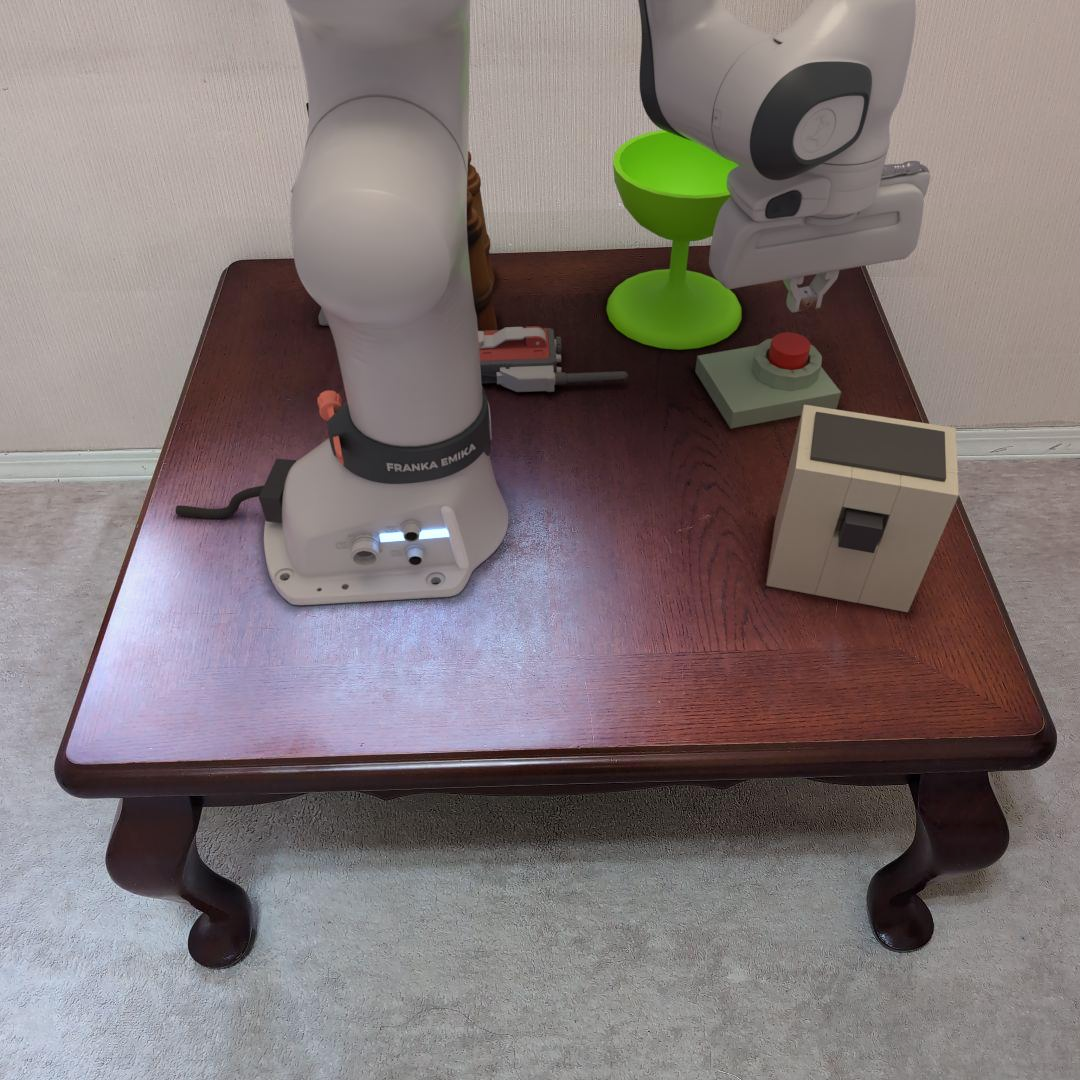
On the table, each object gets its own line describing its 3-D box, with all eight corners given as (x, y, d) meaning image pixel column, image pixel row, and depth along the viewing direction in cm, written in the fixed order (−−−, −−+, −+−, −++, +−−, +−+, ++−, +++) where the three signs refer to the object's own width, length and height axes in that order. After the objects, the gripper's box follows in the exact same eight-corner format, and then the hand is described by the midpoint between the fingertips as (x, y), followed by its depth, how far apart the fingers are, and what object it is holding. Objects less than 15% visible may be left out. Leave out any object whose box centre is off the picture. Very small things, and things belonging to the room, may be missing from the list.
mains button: (777, 374, 98) (781, 357, 96) (761, 351, 100) (765, 335, 99) (813, 367, 99) (817, 351, 97) (796, 345, 101) (800, 329, 100)
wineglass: (589, 284, 116) (593, 139, 103) (710, 265, 119) (730, 120, 106) (631, 359, 106) (642, 208, 93) (764, 336, 108) (793, 185, 95)
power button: (837, 547, 76) (845, 522, 74) (839, 529, 77) (846, 505, 75) (873, 553, 75) (882, 529, 73) (874, 535, 77) (883, 511, 75)
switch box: (730, 429, 97) (735, 398, 95) (694, 372, 104) (698, 341, 101) (836, 408, 99) (845, 378, 97) (795, 354, 106) (802, 323, 103)
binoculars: (428, 265, 120) (411, 103, 105) (493, 262, 120) (485, 101, 105) (425, 351, 107) (405, 181, 93) (498, 347, 108) (490, 178, 93)
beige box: (765, 585, 83) (796, 464, 73) (774, 522, 88) (804, 400, 78) (907, 612, 81) (960, 491, 70) (908, 546, 86) (957, 423, 76)
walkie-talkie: (441, 399, 101) (628, 392, 102) (438, 366, 98) (630, 358, 99) (443, 350, 107) (619, 343, 108) (439, 317, 104) (621, 310, 105)
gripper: (916, 143, 88) (881, 274, 99) (710, 174, 85) (696, 307, 95) (953, 173, 84) (913, 307, 94) (738, 207, 81) (720, 342, 91)
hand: (802, 307), depth 95 cm, fingers closed
